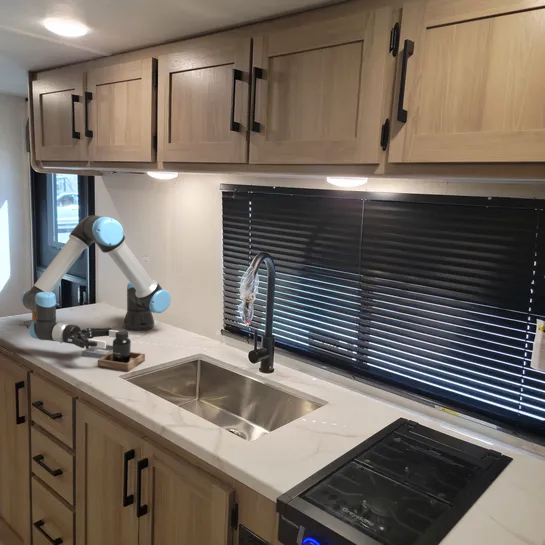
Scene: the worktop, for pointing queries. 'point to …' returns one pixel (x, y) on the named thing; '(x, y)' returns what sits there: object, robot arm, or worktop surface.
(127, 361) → the supplement bottle
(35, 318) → the multimeter
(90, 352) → the gray square frame
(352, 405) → the worktop surface
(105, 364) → the walnut tray
